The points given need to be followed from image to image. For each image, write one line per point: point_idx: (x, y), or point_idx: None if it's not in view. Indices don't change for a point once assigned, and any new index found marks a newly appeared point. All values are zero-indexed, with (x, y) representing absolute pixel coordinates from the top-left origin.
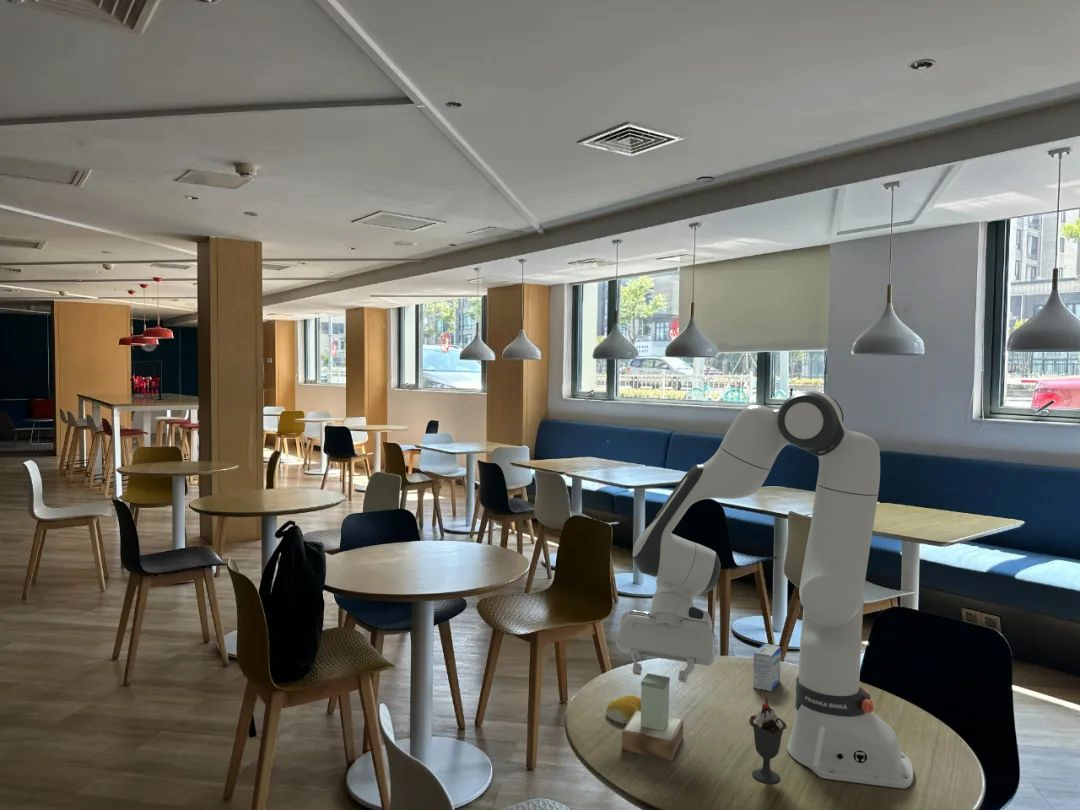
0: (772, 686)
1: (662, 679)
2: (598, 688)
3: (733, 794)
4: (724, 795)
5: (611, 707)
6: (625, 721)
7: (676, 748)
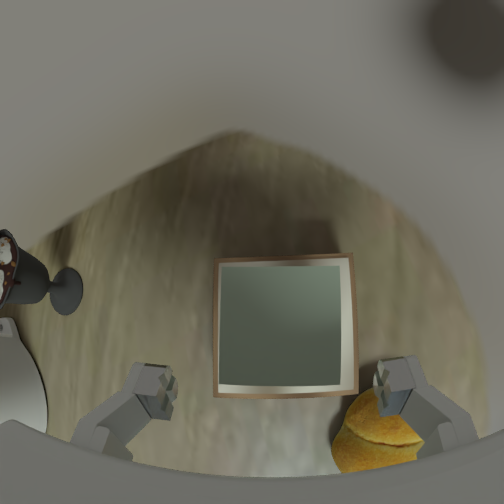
0: None
1: (246, 340)
2: None
3: (110, 210)
4: (122, 199)
5: None
6: None
7: None
